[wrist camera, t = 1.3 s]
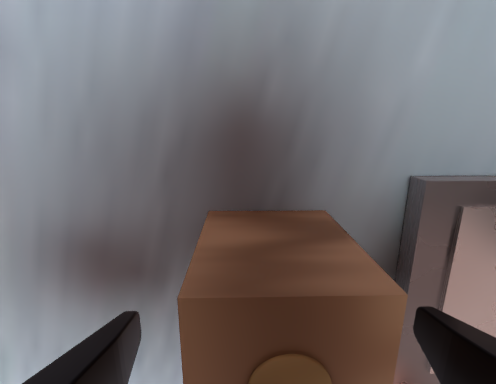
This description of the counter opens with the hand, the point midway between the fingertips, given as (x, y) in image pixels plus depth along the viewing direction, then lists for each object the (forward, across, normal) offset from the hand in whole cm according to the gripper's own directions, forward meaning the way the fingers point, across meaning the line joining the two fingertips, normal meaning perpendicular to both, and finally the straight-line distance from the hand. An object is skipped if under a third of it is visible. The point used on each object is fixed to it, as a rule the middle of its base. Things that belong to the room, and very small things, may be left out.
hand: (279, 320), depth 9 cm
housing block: (+4, 0, 0) cm, 4 cm away
